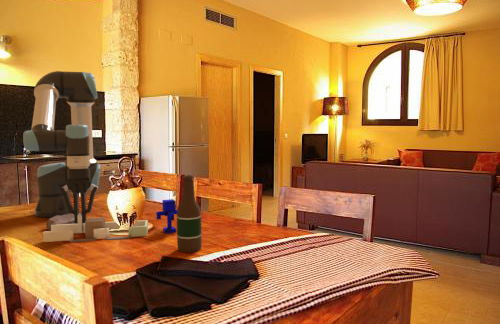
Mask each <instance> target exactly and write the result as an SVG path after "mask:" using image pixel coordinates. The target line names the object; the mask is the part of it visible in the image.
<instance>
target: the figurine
mask: <svg viewBox="0 0 500 324" xmlns="http://www.w3.org/2000/svg"><path fill="white" fill-rule="evenodd" d="M161 203H162V211H161V210H160V211H155V212H156V213H155V214H156V220H162V216H164V217H166V224H167V226H166V227H163V228H162V232H164V233H165V234H173V233H177V227H175V226H172V225H173V223H172V222H173V221H175V215H177V207H176V206H177V205H176V203H177V201H176V200H175V199H173V198H171V199H170V198H169V199H162V202H161Z"/></svg>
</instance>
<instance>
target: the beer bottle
mask: <svg viewBox="0 0 500 324" xmlns="http://www.w3.org/2000/svg"><path fill="white" fill-rule="evenodd" d="M181 179H182V181H183V182H182V197H181V201H180V203H179V204H178V207H177V208H176V210H177V214H176V236H177V237H176V241H177V242H176V243H177V249H178V250H179V252H180V253H181V252H182V253H189V254H190V253H194V252H198V251H200V250H201V249H202V240H203V239H202V211H201V208H200V205H199V204H198V202H197V200H196V196H195V195H196V194H195V185H194V180H195V177H194V175H192V174H191V175H190V174H189V175H183V176H182V178H181Z"/></svg>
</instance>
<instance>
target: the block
mask: <svg viewBox="0 0 500 324" xmlns="http://www.w3.org/2000/svg"><path fill="white" fill-rule="evenodd" d="M105 222H106V217H105V216H104V217H103V216H102V217H87V218H86V221H85V233H84V234H85V239H92V238H94V232H93V229H100V228H106V226H105Z"/></svg>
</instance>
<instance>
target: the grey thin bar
mask: <svg viewBox="0 0 500 324" xmlns="http://www.w3.org/2000/svg"><path fill="white" fill-rule="evenodd" d="M128 239H129V240H130V239H131V237H130V236H129V235H127V236H111V237H110V236H109V238H105V240H106V241H108V240H110V241H111V240H128ZM95 240H96V239H95V238H77V239H76V238H75V239H73V240H71V241H69V243H74V242H75V243H80V242H95Z"/></svg>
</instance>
